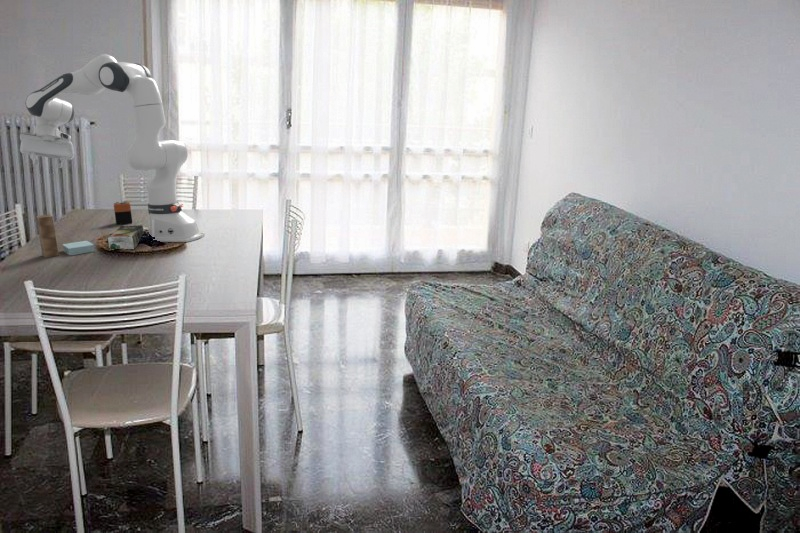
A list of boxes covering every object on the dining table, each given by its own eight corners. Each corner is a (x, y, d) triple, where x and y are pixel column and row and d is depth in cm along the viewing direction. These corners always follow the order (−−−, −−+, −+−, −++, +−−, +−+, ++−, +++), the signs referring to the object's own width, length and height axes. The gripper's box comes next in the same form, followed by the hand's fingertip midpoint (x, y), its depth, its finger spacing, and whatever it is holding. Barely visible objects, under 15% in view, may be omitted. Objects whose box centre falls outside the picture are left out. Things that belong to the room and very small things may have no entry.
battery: (132, 223, 310) (129, 201, 307) (116, 224, 307) (113, 202, 305) (131, 221, 314) (129, 199, 311) (115, 223, 311) (113, 201, 308)
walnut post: (55, 253, 261) (49, 214, 257) (58, 255, 257) (52, 216, 253) (42, 255, 258) (36, 216, 254) (45, 257, 255) (39, 218, 250)
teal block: (87, 248, 270) (86, 240, 269) (94, 252, 263) (93, 244, 262) (63, 251, 264) (62, 244, 263) (69, 256, 258) (68, 248, 257)
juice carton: (134, 250, 264) (132, 235, 262) (108, 252, 263) (105, 236, 261) (145, 239, 283) (143, 224, 281) (120, 240, 282) (118, 225, 280)
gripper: (21, 128, 282) (21, 159, 278) (74, 136, 295) (75, 166, 291) (18, 134, 286) (18, 165, 283) (70, 142, 299) (71, 172, 296)
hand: (47, 165), depth 287 cm, fingers open, 8 cm apart
